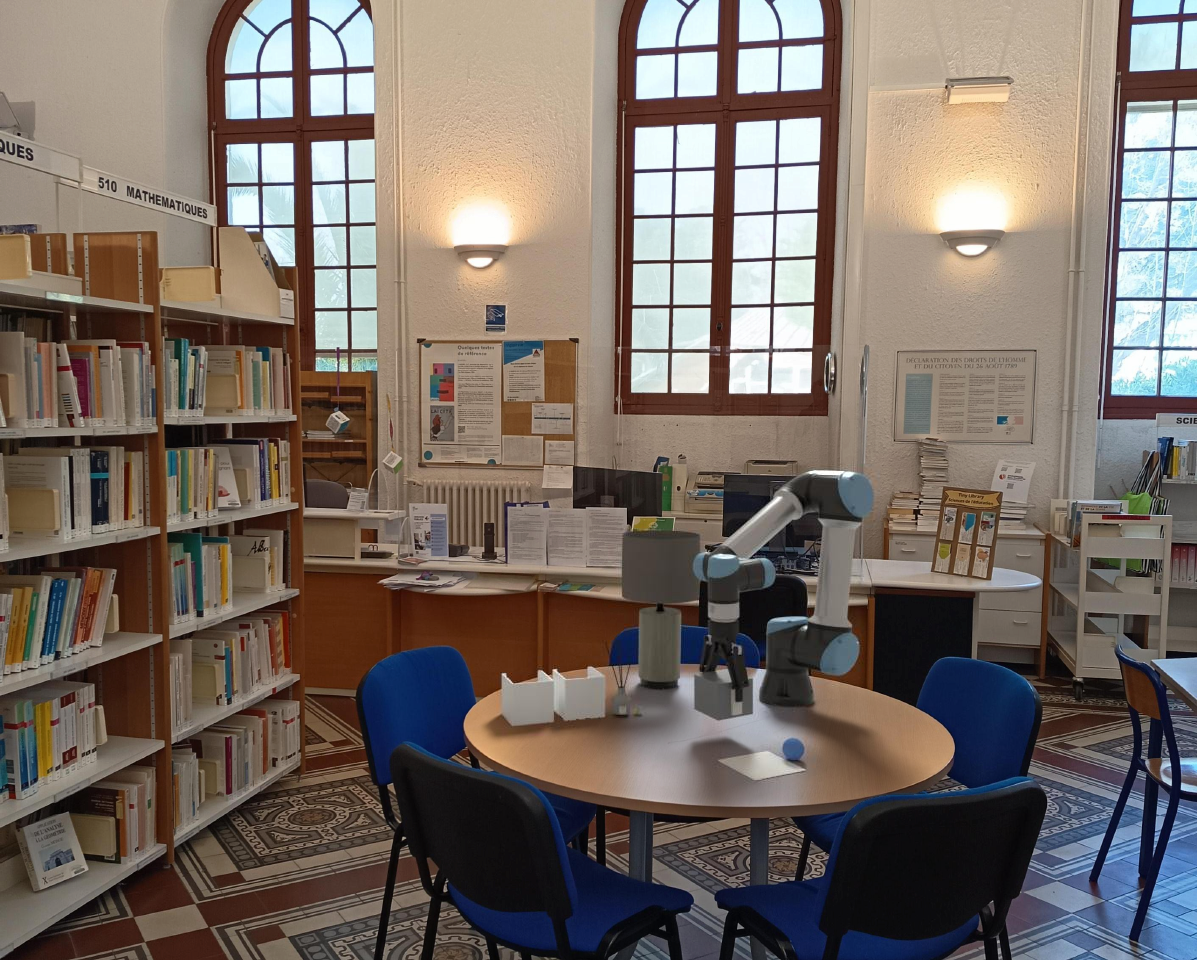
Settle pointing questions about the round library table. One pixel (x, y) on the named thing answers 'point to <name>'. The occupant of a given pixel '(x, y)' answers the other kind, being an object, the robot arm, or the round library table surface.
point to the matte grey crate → (719, 695)
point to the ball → (793, 749)
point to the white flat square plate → (761, 765)
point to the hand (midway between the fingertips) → (723, 708)
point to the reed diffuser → (622, 691)
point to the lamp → (659, 597)
